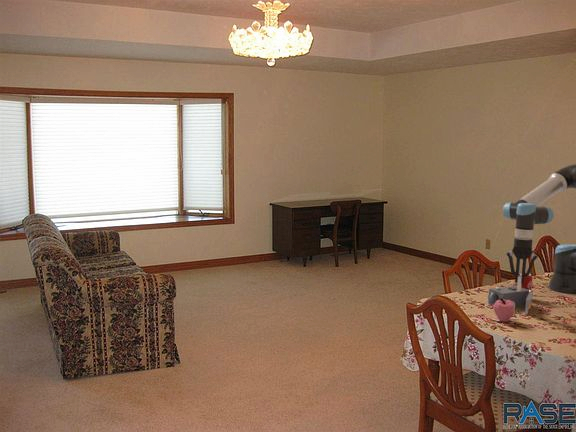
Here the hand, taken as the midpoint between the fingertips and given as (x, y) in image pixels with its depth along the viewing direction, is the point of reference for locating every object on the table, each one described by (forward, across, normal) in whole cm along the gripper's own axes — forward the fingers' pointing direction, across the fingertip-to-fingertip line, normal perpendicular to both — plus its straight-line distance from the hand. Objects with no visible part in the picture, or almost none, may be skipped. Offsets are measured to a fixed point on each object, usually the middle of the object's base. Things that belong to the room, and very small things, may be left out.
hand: (518, 290), depth 275 cm
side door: (+9, +5, +4) cm, 11 cm away
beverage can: (+9, 0, +23) cm, 25 cm away
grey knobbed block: (+9, -5, +8) cm, 14 cm away
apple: (+10, -3, -18) cm, 21 cm away
